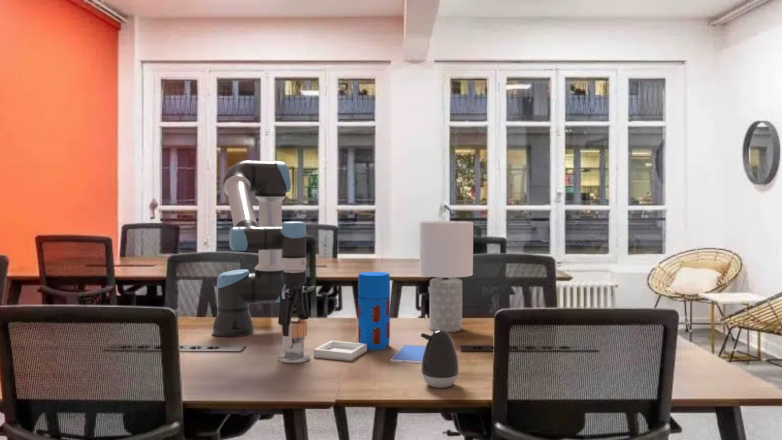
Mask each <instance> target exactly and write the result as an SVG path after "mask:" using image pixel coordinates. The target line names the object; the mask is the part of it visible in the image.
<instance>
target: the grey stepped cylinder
mask: <svg viewBox="0 0 782 440" xmlns="http://www.w3.org/2000/svg"><path fill="white" fill-rule="evenodd" d="M296 320H297V319H291V322H290V324H300V321H296ZM310 360H311V355H310V354H308V353H305V340H303V339H300V338H292V346H291V347H289V346H284V353H283V354H280V355H279V356H278V357H277V361H278V362H279V363H282V364H291V365H293V364H295V365H297V364H304V363H306V362H309V361H310Z"/></svg>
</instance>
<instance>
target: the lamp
mask: <svg viewBox="0 0 782 440" xmlns="http://www.w3.org/2000/svg"><path fill="white" fill-rule="evenodd" d="M473 271H474V222H472V221H462V220H461V221H459V220H457V221H456V220H454V221H451V220H450V221H448V220H447V221H446V220H444V221H443V220H435V221H434V220H431V221H429V220H427V221H420V222H419V271H418V272H419V275H420V276H424V277H430V278H431V279H430V280H429V330H431V331H433V332H435V331H437V330H444V331H446V332H447V333H455V332H456V331H457V332H460V331H461V330H462V328H463V280H461V279H460V278H467V277H471V276H473V275H474V272H473Z"/></svg>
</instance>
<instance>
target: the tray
mask: <svg viewBox="0 0 782 440" xmlns="http://www.w3.org/2000/svg"><path fill="white" fill-rule="evenodd" d="M366 352H368V349H367V344H363V343H359V342H351V341H349V342H348V341H341V340H330V341H328V342H326V343H324V344H321V345H320V346H317V347H315V348H313V358H318V359H328V360H338V361H347V362H352V361H354V360H355V359H357V358H358V357H360V356H362V355H363V354H365V353H366Z"/></svg>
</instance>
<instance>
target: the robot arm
mask: <svg viewBox="0 0 782 440" xmlns="http://www.w3.org/2000/svg"><path fill="white" fill-rule="evenodd" d="M291 182H292V180H291V175H290V170H289V167H288V165H287V164H286V162H284V161H279V160H250V159H249V160H242V161H238V162H237V163H235V164H233V165H232V166H230V168H229V169H228V170H227V171H226V173H225V175H224V177H223V181H222V185H223V186H222V187H223V191H224V193H225V194H226V196H227V197H228V198H227V199H228V203H229V209H230V214H231V218H232V219H231V220H232V225H233V227H231V228H229V234H228V236H229V237H228V240H229V241H228V243H229V248H230V249H231V250H232V251H241V252H247V251H258V263H257V265H256V266H255V267H254V272H250V271H249V269H245V268H242V269H233V270H229V271H224V272H221V273H219V275H218V276H217V279H216V280H217V282H216V289H217V290H216V291H217V292H216V295H217V296H216V297H217V300H216V301H217V302H216V304H217V307H216V309H217V312H216V316H215V319H214V321H213V322H214V323H213V325H212V335H214V336H216V337H226V338H233V337H234V338H235V337H242V336H243V337H244V336H248V335H251V334H253V333H254V332H255V325H254V322H253V319H252V315H251V313H250V305H255V304H269V303H271V304H275V303H279V311H278V318H277V319H278V321H277V323H278V325H279V326H281V325H282V326H283V337H282V347H285V346H289V347H291V346H292V325H290V322H291V320H292V317H293V316H292V315H293V311H294V306H295V311H296V314H297V315H296V316H297V319H296V320H309V316H310V310H309V309H310V308H309V298H308V289H309V287H308V286H304V285H303V284H306V283H307V272H306V271H305V270H307V262H308V261H307V234H308V233H307V225H306V223H305V222H303V221H284V222H282V221H283V219H282V218H283V216H282V215H283V201H284V199H285V198H286V197H287V193H289V192H291V186H292V185H291ZM253 192H254V197H255V198H256V200H258V222H257V218H256V214H255V209H254V205H253V201H252V197H251V193H253ZM300 339H303V340H304V341H305V340H306V336H305V337H300Z"/></svg>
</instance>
